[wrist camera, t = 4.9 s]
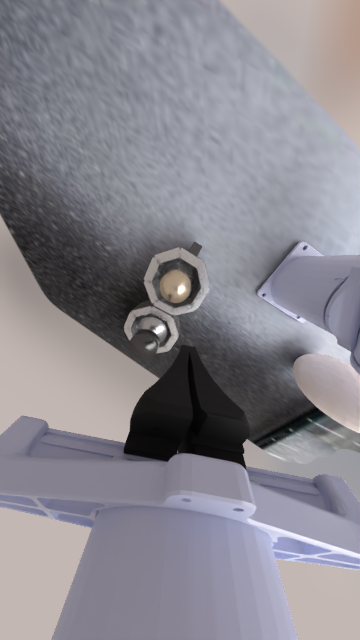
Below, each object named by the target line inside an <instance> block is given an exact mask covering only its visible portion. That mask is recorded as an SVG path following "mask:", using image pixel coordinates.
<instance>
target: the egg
mask: <svg viewBox="0 0 360 640" xmlns="http://www.w3.org/2000/svg"><path fill="white" fill-rule="evenodd" d="M293 374H294V378H295V380H296V383H297V385H298V386H299V388H300V389H301V390H302V392H303V393H304V394H305V396H306V397H307V398H308V399H309V400H310V401H311V402H312V403H313V404H314V405H315V406H316V407H317V408H319V409H320V410H321V411H322V412H324V413H325V414H327V415H328V416H329V417H331V418H332V419H334V420H335V421H337V422H339V423H340V424H342V425H344V426H346V427H347V428H349V429H351V430H353V431H356V432H358V433H360V375H359V374H358V373H357V372H356V371H355V369H354V368H353V367H352V366H350V365H349V364H347V363H345V362H343V361H341V360H339V359H336V358H333V357H330V356H327V355H321V354H305V355H302V356H300V357H299V358H297V359H296V361H295V362H294V366H293Z"/></svg>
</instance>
